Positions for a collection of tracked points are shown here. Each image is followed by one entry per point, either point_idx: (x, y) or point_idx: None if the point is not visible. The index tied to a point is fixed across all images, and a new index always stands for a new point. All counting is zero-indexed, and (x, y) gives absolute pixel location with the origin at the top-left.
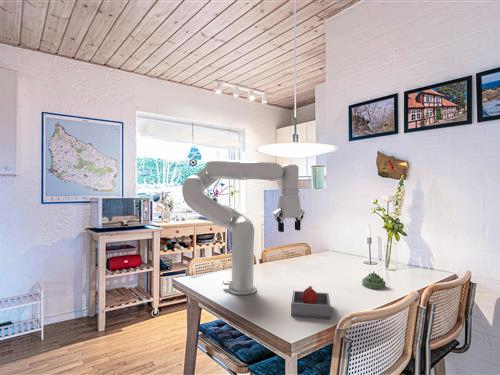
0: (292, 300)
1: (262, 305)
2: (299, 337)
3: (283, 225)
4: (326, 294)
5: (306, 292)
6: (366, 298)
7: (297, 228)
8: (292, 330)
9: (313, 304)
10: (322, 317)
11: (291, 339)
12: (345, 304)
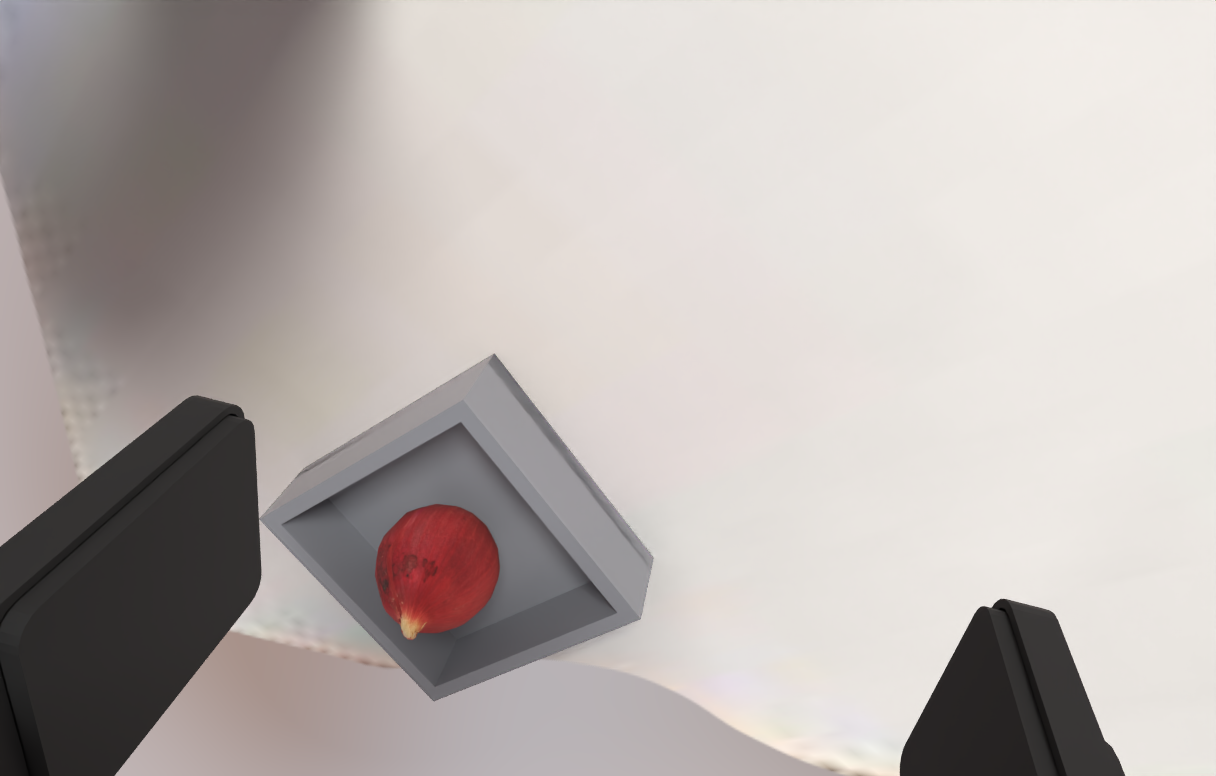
0: (299, 502)
1: (244, 220)
2: None
3: (103, 752)
4: (608, 615)
5: (380, 593)
6: None
7: (932, 753)
8: None
9: (367, 625)
10: None
11: None
12: (752, 632)
